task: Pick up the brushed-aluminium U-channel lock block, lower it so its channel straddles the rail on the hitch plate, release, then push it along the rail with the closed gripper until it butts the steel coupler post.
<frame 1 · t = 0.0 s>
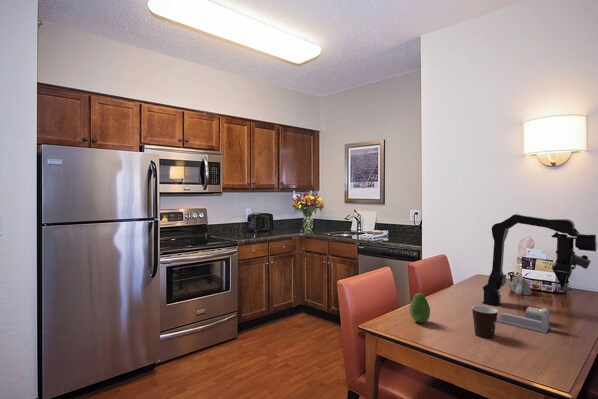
hand: (564, 284, 150), 15 cm above the table, fingers open, 9 cm apart
hitch plate: (521, 324, 143), on the table
coffee mug: (486, 335, 133), on the table
fruit: (419, 322, 146), on the table
lock block: (537, 322, 146), on the table
mineral rock: (519, 292, 189), on the table
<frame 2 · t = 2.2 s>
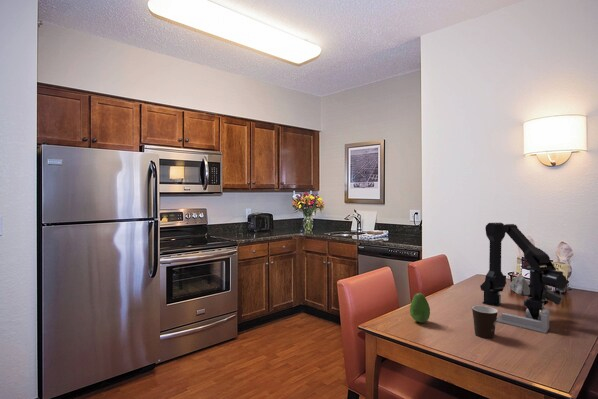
hand: (537, 319, 146), 1 cm above the table, fingers closed on lock block, 6 cm apart
lock block: (537, 321, 146), on the table, touching gripper
everything else where it was.
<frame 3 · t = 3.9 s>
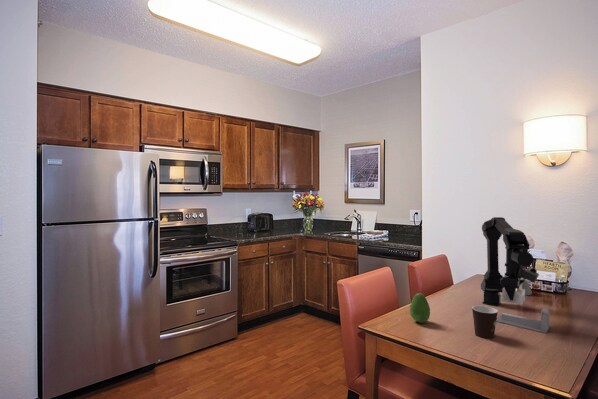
hand: (513, 298, 146), 10 cm above the table, fingers closed on lock block, 6 cm apart
lock block: (513, 301, 146), point 9 cm above the table, touching gripper
everything else where it was.
when the fingers open (3 cm above the table, at t = 5.7 s): lock block drops 1 cm, resting on hitch plate.
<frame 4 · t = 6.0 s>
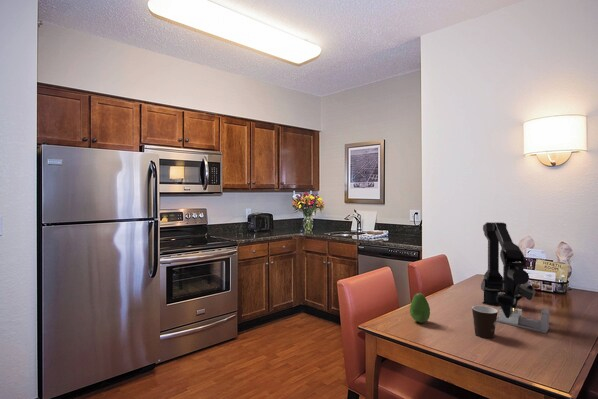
hand: (510, 315, 146), 3 cm above the table, fingers open, 9 cm apart
lock block: (510, 320, 146), resting on hitch plate
everything else where it was.
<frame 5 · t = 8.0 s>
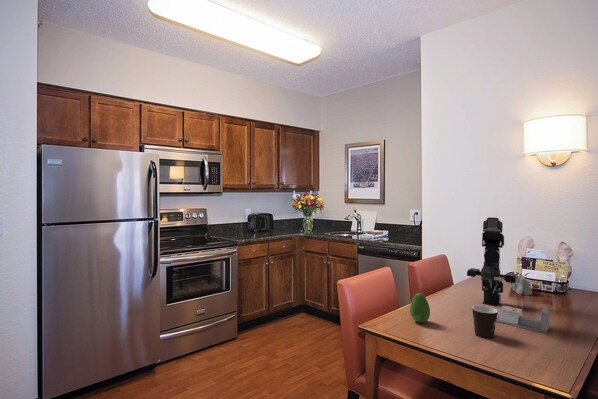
hand: (491, 294, 151), 10 cm above the table, fingers closed
nothing on the table moved.
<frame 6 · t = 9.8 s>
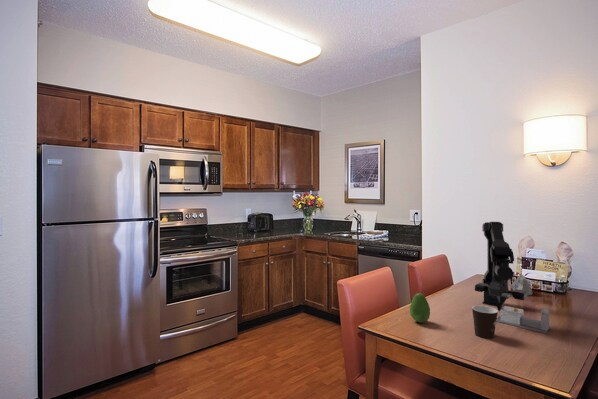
hand: (499, 310, 149), 4 cm above the table, fingers closed
lock block: (511, 321, 146), resting on hitch plate, touching gripper
everything else where it was.
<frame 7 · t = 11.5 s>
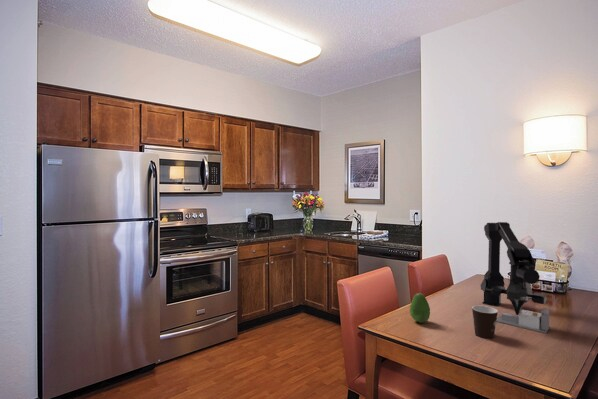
hand: (517, 314, 144), 4 cm above the table, fingers closed
lock block: (530, 325, 141), resting on hitch plate, touching gripper
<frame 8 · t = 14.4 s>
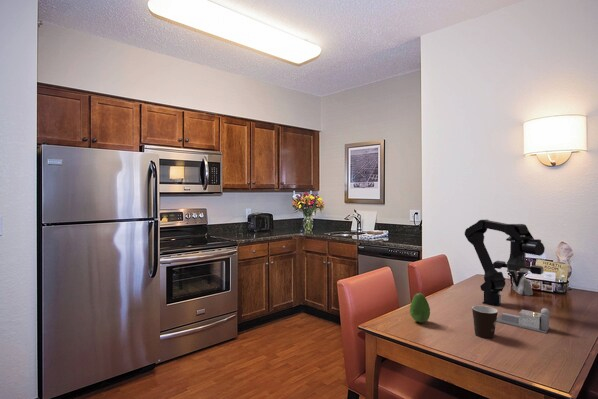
hand: (517, 286, 157), 12 cm above the table, fingers closed
lock block: (530, 325, 141), resting on hitch plate
at the end: lock block 0.7 cm from the target spot, resting on hitch plate; lock block tilted 0° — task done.
